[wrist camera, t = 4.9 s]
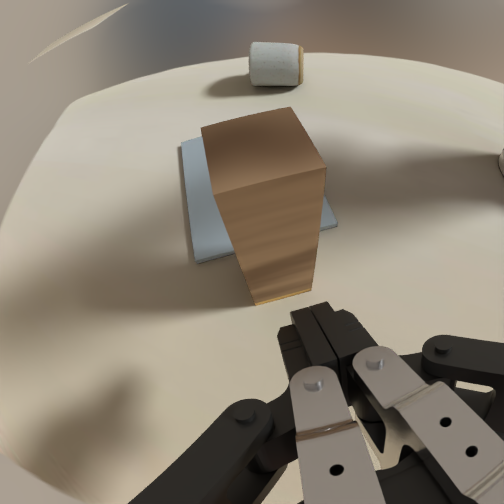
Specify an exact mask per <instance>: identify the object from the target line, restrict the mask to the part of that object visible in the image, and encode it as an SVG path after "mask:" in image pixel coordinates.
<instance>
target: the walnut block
mask: <svg viewBox="0 0 504 504" xmlns="http://www.w3.org/2000/svg"><path fill="white" fill-rule="evenodd" d="M201 133H202V138H203V144H204V149H205V155H206V160H207V166H208V171H209V176H210V182H211V187H212V192H213V196H214V199H215V201H216V204H217V207H218V209H219V212H220V215H221V217H222V220H223V223H224V225H225V228H226V231H227V233H228V236H229V238H230V241H231V244H232V246H233V249H234V251H235V254H236V257H237V259H238V262H239V264H240V267H241V269H242V272H243V275H244V277H245V280H246V282H247V285H248V287H249V290H250V293H251V295H252V298H253V300H254V303H255V305H260V304H264V303H268V302H271V301H275V300H279V299H282V298H286V297H290V296H293V295H297V294H300V293H304V292H307V291H311V288H312V282H313V275H314V269H315V262H316V255H317V247H318V240H319V232H320V224H321V215H322V206H323V197H324V187H325V177H326V165H325V164H324V162H323V160H322V158H321V156H320V155H319V153H318V151H317V149H316V148H315V146H314V144H313V143H312V141H311V139H310V137H309V136H308V134H307V132H306V131H305V129H304V127H303V126H302V124H301V122H300V121H299V119H298V118H297V116H296V114H295V113H294V111H293V110H292V108H291V107H286V108H281V109H276V110H271V111H266V112H261V113H257V114H252V115H248V116H244V117H239V118H235V119H231V120H227V121H224V122H220V123H216V124H212V125H209V126H205V127H202V128H201Z"/></svg>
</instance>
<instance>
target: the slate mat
mask: <svg viewBox="0 0 504 504" xmlns="http://www.w3.org/2000/svg"><path fill="white" fill-rule="evenodd" d="M181 147H182V158H183V168H184V178H185V187H186V196H187V204H188V213H189V221H190V228H191V236H192V243H193V250H194V257H195V262H196V263H201V262H205V261H208V260H212V259H216V258H220V257H223V256H227V255H231V254H235V251H234V249H233V246H232V244H231V241H230V238H229V236H228V233H227V231H226V228H225V225H224V223H223V220H222V217H221V215H220V212H219V209H218V207H217V204H216V201H215V199H214V196H213V192H212V187H211V182H210V176H209V171H208V166H207V160H206V155H205V149H204V144H203V138H202V136H201V137H198V138H195V139H191V140H188V141H185V142H181ZM337 224H338V223H337V220H336V218H335V216H334V214H333V212H332V210H331V207H330V205H329V203H328V201H327V199H326V197H325V195H324V197H323V206H322V215H321V224H320V231H322V230H325V229H329V228H333V227H337Z"/></svg>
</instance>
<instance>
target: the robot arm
mask: <svg viewBox="0 0 504 504" xmlns="http://www.w3.org/2000/svg"><path fill="white" fill-rule="evenodd" d="M499 166H500V169H501V172H502V174H503V175H504V149H503V151H502V153H501V155H500V157H499ZM290 316H291V320H292V325H288V326H284V327H281V328H280V330H279V333H278V335H277V338H278V341H279V345H280V349H281V353H282V357H283V361H284V365H285V369H286V372H287V376H288V379H289V385H288V387H287V389H286V391H285V392H284V393H283V394H282V395H281V396H279V397H278V398H276V399H275V400H273V401H271V402H269V403H267V404H266V403H265V402H263V401H261V400H258V399H244V400H240V401H237V402H235V403H233V404H232V405H230V406H229V407H228V408H227V409H226V410H225V411H224V412H223V413H222V414H221V415H220V416H219V417H218V418H217V419H216V420H215V421H214V422H213V423H212V424H211V425H210V427H209V428H208V429H207V430H206V431H205V432H204V433H203V434H202V435H201V436H200V437H199V438H198V439H197V440H196V441H195V442H194V443H193V444H192V445H191V446H190V447H189V448H188V449H187V450H186V451H185V452H184V453H183V454H182V455H181V456H180V457H179V458H178V459H177V460H176V461H174V462H173V463H172V464H171V465H170V466H169V467H168V468H167V469H166V470H165V471H164V472H163V473H162V474H161V475H160V476H158V477H157V478H156V479H155V480H154V481H153V482H152V483H151V484H150V485H149V486H147V487H146V488H145V489H144V490H143V491H142V492H141V493H139V494H138V495H137V496H136V497H135V498H134V499H132V500H131V501H130V502H129V503H128V504H261V503H262V501H263V500H264V499H265V497H266V496H267V495H268V494H269V492H270V491H271V489H272V488H273V487H274V485H275V484H276V483H277V481H278V480H279V478H280V477H281V476H282V474H283V473H284V471H285V470H286V468H287V465H288V463H290V462H292V461H294V460H296V459H298V460H299V467H300V474H301V482H302V489H303V497H304V500H303V501H301V502H299V503H298V504H504V343H499V342H491V341H484V340H477V339H470V338H463V337H457V336H451V335H438V336H434V337H432V338H430V339H428V340H427V341H426V342H425V343H424V345H423V347H422V352H420V353H415V354H409V355H397V354H396V353H395V352H394V351H393V350H392V349H390V348H387V347H383V346H378V344H377V343H376V342H375V341H374V339H373V338H372V337H371V336H370V334H369V333H368V332H367V331H366V329H365V328H364V327H363V326H362V324H361V323H360V322H358V320H357V318H356V317H355V316H354V315H353V314H352V313H350V312H348V311H346V310H344V309H342V310H339V311H336V312H335V311H334V310H333V309H332V307H331V306H330V304H329V303H328V302H327V301H326V302H323V303H320V304H316V305H313V306H309V308H308V307H306V308H303V309H299V310H296V311H292V312H290ZM457 381H462V382H468V383H473V384H479V385H485V386H490V387H492V388H493V390H492V391H490V392H487V393H484V392H478V391H473V390H467V389H462V388H457V387H456V383H457ZM349 406H353V408H354V410H355V420H356V421H353V419H352V417H351V414H350V411H349V408H348V407H349ZM362 433H363V435H364V437H365V438H366V440H367V442H368V443H369V445H370V446H371V448H372V450H373V451H374V453H375V455H376V456H377V458H378V460H379V463H380V466H381V470H377V471H375V469H374V466H373V463H372V460H371V458H370V455H369V452H368V449H367V446H366V443H365V440H364V437H363V435H362Z"/></svg>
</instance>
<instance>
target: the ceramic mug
mask: <svg viewBox="0 0 504 504" xmlns="http://www.w3.org/2000/svg"><path fill="white" fill-rule="evenodd" d="M249 74H250V80H251V83H252V85H253V86H295V85H300V84H302V83H303V48H302V47H301V46H299V45H295V44H287V43H267V42H253V43H252V44H251V46H250V50H249Z"/></svg>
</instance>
